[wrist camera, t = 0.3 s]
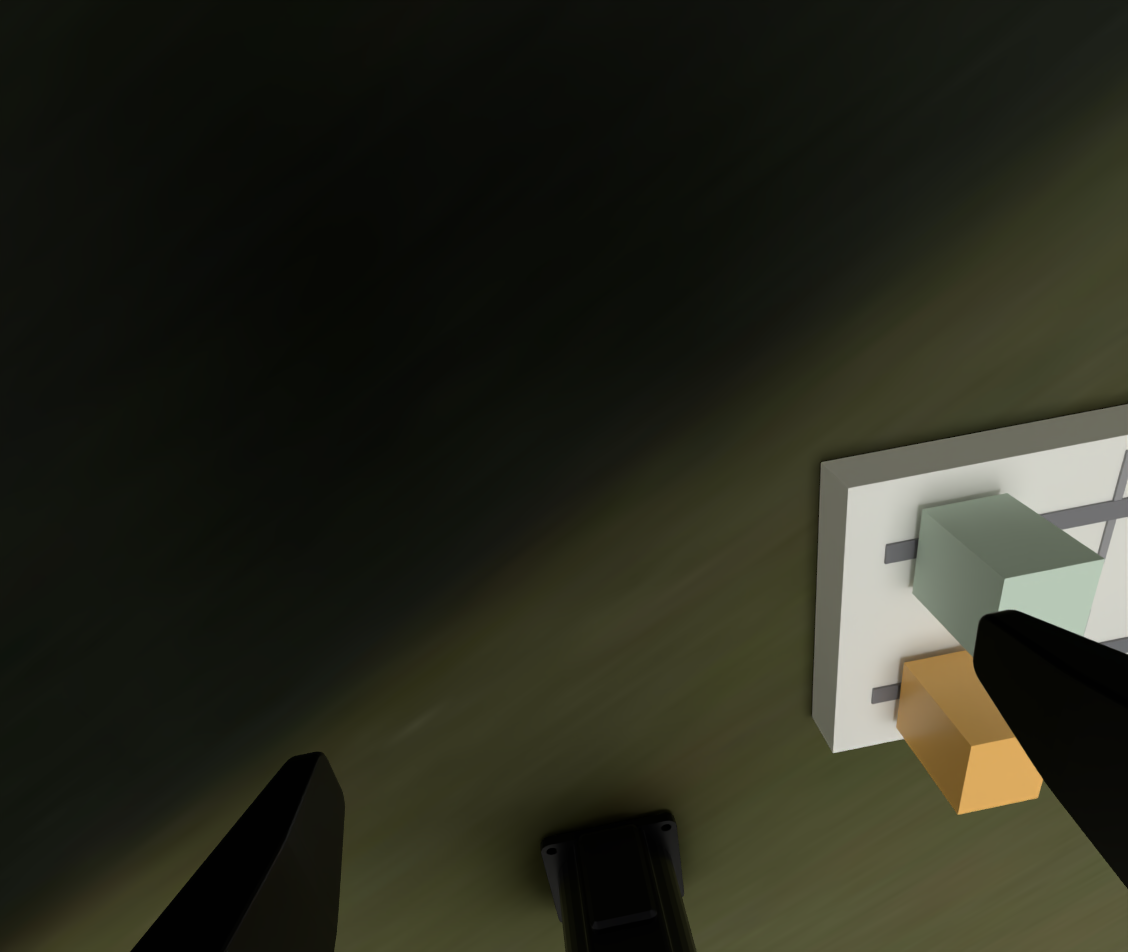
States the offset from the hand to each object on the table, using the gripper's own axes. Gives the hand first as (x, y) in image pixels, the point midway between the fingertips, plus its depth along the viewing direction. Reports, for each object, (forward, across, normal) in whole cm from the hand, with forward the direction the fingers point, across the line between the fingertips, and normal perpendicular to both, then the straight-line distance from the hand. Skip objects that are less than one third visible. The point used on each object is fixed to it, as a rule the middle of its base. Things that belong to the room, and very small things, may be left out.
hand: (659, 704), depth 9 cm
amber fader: (+12, -13, +15) cm, 23 cm away
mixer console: (+14, -19, +11) cm, 26 cm away
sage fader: (+12, -13, +8) cm, 19 cm away
